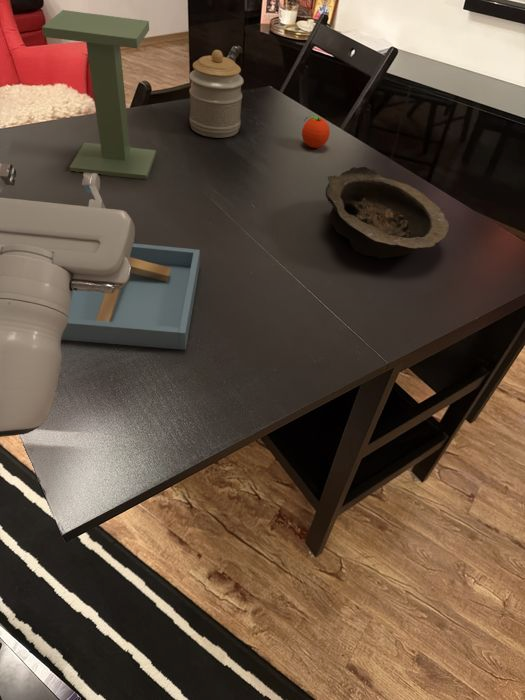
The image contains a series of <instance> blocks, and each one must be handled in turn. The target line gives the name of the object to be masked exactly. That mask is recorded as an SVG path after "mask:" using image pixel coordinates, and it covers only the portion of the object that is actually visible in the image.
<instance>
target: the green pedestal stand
mask: <svg viewBox="0 0 525 700" xmlns="http://www.w3.org/2000/svg"><path fill="white" fill-rule="evenodd" d="M41 29H42V35H43V37H44V38H49V39H58V40H64V41H75V42H81V43H86V51H87V58H88V66H89V73H90V80H91V86H92V93H93V94H92V95H93V101H94V107H95V114H96V121H97V127H98V128H97V129H98V137H99V143H94V142H93V143H92V142H84V143H83V144H82V146H81V147H80V149H79V151H78V153H76V155H75V158H73V160H72V162H71V163H70V165H69V172H70V171H75V172H74V173H79V172H83V173H84V172H87V173H96V174H101V175H100V176H109V177H116V178H117V177H118V178H127V179H128V178H129V179H137V180H146V181H147V180H148V178H149V176H150V172H151V170H152V167H153V164H154V161H155V159H156V156H157V150H156V149H150V148H149V149H148V148H141V147H140V148H138V147H131V144H130V134H129V124H128V123H129V122H128V114H127V113H128V112H127V103H126V102H127V101H126V93H125V82H124V81H125V80H124V70H123V60H122V51H121V49H122V48H128V49H129V48H130V49H138V48H139V47H140V45H141V44H142V42H143V40H144V39H145V37H147V34H148V33H149V31H150V21H149V20H143V19H137V18H129V17H120V16H114V15H113V16H112V15H104V14H98V13H89V12H83V11H82V12H81V11H75V10H74V11H73V10H65V9H62V10H61V11H60V12H58V13H57V14H56V15H55V16H54V17H52V18H51V19H50V20H49V21H47V22H46V23H45V24H44V25H42V26H41ZM121 47H122V48H121ZM83 173H82V174H83Z"/></svg>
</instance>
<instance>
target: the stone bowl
mask: <svg viewBox="0 0 525 700" xmlns="http://www.w3.org/2000/svg"><path fill="white" fill-rule="evenodd" d="M327 180H328V184H327V186H326V187H325V197H326V199H327V201H328V202H329V203H330V204H331V206H332V209H331V211H330V212H329V216H328V222H327V223H328V227H329V229H330V230H333V231H335V232H336V233H337V234H339V235H341V236H343V237H345V238H347V240H349V242H350V246H351V247H352V249H353V250H354V251H355V252H357V253H359V254H361V255H363V256H365V257H374V258H375V257H376V258H377V259H388V258H394V257H395V258H396V257H402V256H406V255H408V254H409V253H411V252H412V251H414V250H415V249H420V248H423V249H424V248H431V247H434V246H435V245H436V243H439V242H440V241H442V240H443V239H444V238H445V237H446V236H447V234H448V231H449V228H450V224H449V222H448V220H447V219H446V218H445V217H446V215H445V214H444V212H443V210H442V209H441V208H440V207H439V206H438V205H437V204H436V203H435V202H433V200H430V199H429V198H428V197H427V196H426V195H425V193H423V192H421V191H419V190H418V189H416V188H414V187H412V186H411V185H410V184H407V183H404V182H401V181H397V180H394V179H391V178H387V177H383V176H382V175H381V174H379V173H378V172H377V171H376V170H375V169H371V168H369V167H366V166H359V167H355V166H354V167H351V168H349V170H346V171H344V172H342V173H341V174H340V175H338V176H336V175H328V176H327Z"/></svg>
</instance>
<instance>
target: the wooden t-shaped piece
mask: <svg viewBox="0 0 525 700" xmlns="http://www.w3.org/2000/svg"><path fill="white" fill-rule="evenodd" d="M129 260H130V263H131V272H130V273H134V274H138V275H142V276H145V277H149V278H153V279H157V280H161V281H165V282H168V278H169V274H170V270H171V268H169V267H165V266H162V265H158V264H154V263H150V262H147V261H143V260H139V259H135V258H132V257H129ZM114 286H119V285H114ZM120 291H121V289H119V290H114V293H105V296H104V298H103V301H102V304H101V307H100V310H99V312H98V315H97V318H96V321H106V322H110V321H111V318H112V315H113V312H114V309H115V306H116V303H117V300H118V297H119V294H120Z"/></svg>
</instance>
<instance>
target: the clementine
mask: <svg viewBox="0 0 525 700" xmlns="http://www.w3.org/2000/svg"><path fill="white" fill-rule="evenodd" d="M308 118H310V119H308ZM307 119H308V120H307ZM306 120H307V121H306ZM305 121H306V122H305ZM303 122H304V124H303V127H302V130H301V138H302V141H303V142H304V144H305V145H306V146H308V147H309V148H313V149H318V148H321V147H323V146H324V145H325V144H327V142H328V140H329V138H330V132H331V130H330V126H329V124H328V122H327V121H326V120H325V119H324V118H321V117H319V116H315V115H311V116H307V117H305V118H304V121H303Z"/></svg>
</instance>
